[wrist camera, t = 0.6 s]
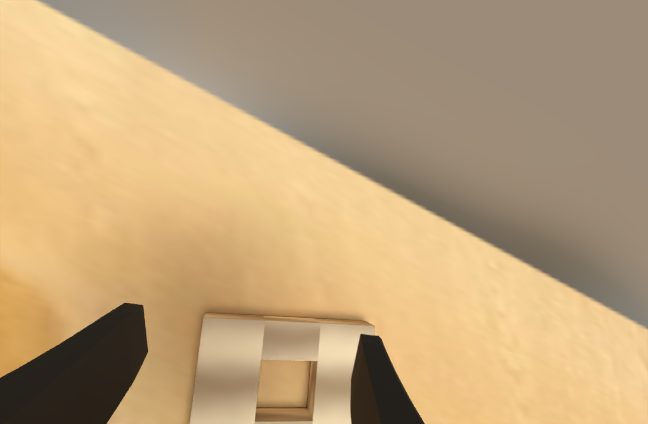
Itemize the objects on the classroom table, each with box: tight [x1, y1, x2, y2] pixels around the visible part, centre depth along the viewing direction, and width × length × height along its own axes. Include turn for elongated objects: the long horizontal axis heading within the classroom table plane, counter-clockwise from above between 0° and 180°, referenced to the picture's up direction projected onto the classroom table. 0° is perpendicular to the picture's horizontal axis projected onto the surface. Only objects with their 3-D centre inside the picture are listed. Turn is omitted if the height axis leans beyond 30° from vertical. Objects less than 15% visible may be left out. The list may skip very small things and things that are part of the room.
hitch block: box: [190, 313, 375, 424], centre depth 34 cm, size 12×16×3 cm
